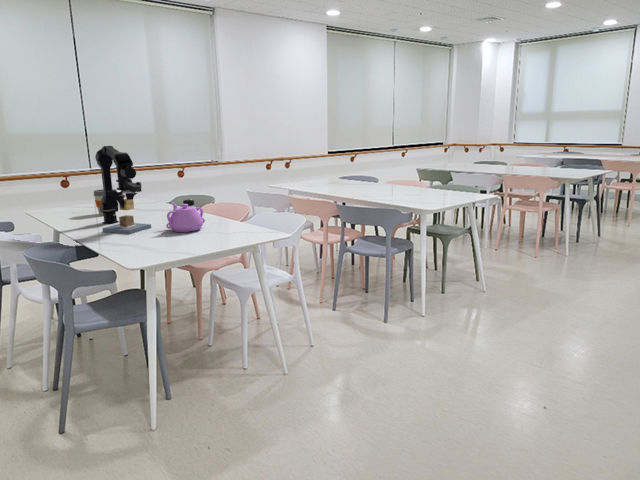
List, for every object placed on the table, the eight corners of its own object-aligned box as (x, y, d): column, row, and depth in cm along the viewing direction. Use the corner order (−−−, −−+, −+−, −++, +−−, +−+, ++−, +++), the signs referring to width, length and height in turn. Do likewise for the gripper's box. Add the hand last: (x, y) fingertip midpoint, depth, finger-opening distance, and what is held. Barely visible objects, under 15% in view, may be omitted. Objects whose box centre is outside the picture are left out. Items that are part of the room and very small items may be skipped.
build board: (102, 231, 257) (102, 227, 257) (124, 225, 272) (124, 221, 271) (130, 234, 251) (129, 229, 250) (151, 227, 265) (150, 223, 265)
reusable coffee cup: (110, 211, 319) (107, 188, 315) (121, 213, 312) (119, 189, 308) (92, 214, 309) (89, 190, 305) (103, 216, 302) (100, 192, 298)
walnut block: (119, 226, 259) (118, 216, 258) (126, 224, 264) (125, 215, 263) (127, 226, 258) (126, 217, 257) (134, 225, 262) (133, 215, 261)
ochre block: (119, 209, 258) (118, 200, 257) (126, 208, 263) (125, 199, 261) (127, 210, 256) (126, 200, 255) (134, 208, 261) (133, 199, 260)
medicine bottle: (193, 221, 281) (191, 200, 279) (181, 221, 283) (179, 200, 280) (198, 219, 288) (196, 198, 286) (187, 218, 290) (185, 198, 287)
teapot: (192, 223, 275) (190, 199, 272) (213, 229, 260) (211, 203, 257) (155, 230, 260) (152, 204, 257) (175, 236, 245) (173, 208, 242)
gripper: (123, 179, 244) (126, 210, 248) (148, 176, 261) (150, 205, 265) (105, 179, 248) (108, 209, 252) (131, 175, 265) (134, 204, 269)
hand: (126, 207), depth 259 cm, fingers closed on ochre block, 5 cm apart
